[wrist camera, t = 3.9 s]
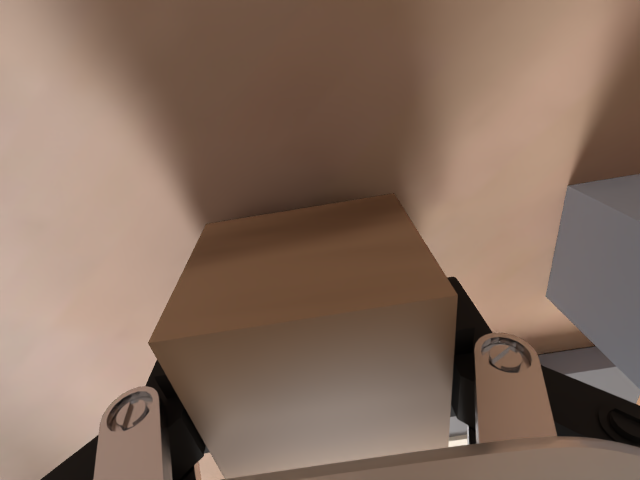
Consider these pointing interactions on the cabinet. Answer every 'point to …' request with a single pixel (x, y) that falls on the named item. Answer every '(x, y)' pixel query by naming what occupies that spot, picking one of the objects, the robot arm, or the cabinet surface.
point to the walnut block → (312, 338)
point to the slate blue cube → (601, 267)
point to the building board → (580, 366)
